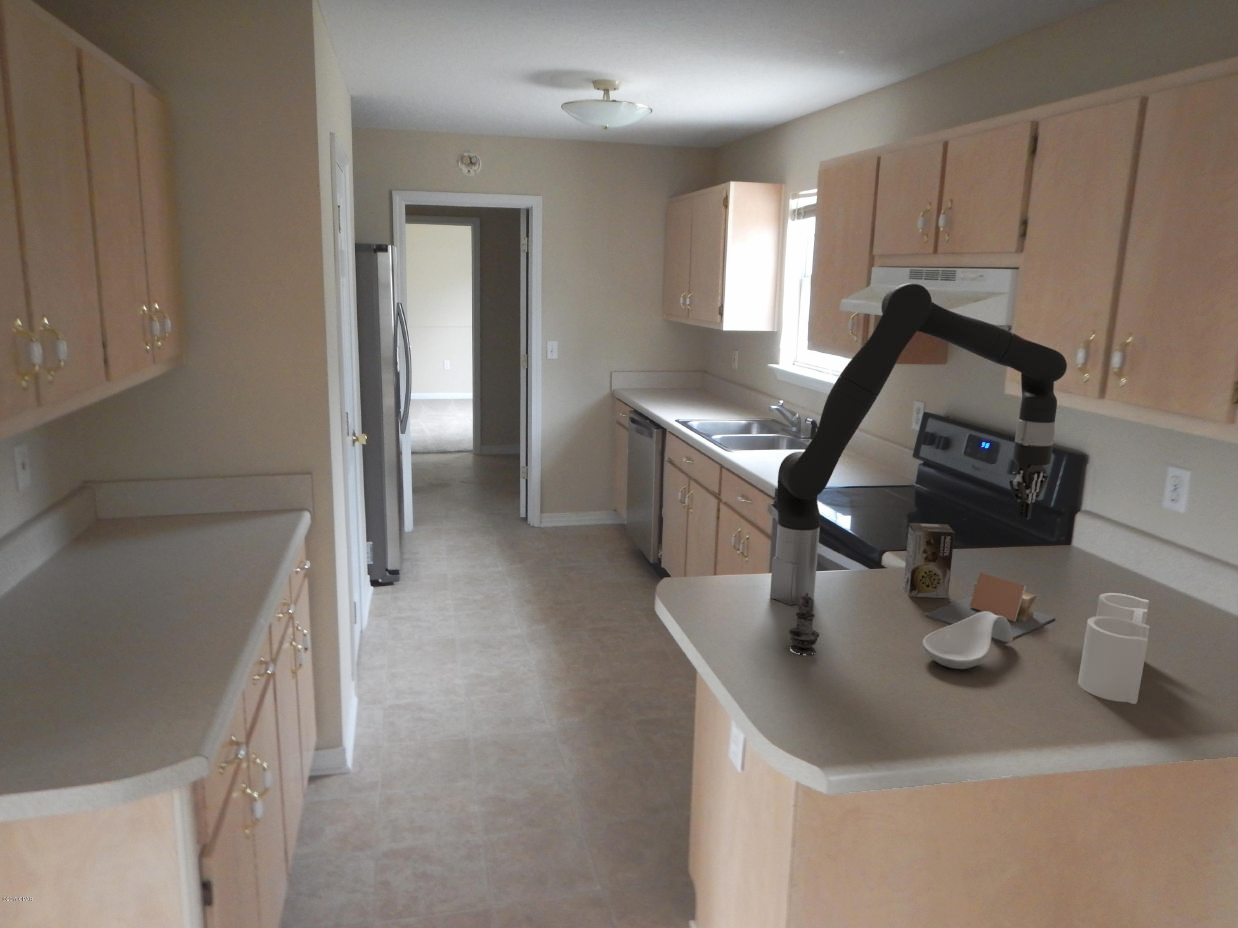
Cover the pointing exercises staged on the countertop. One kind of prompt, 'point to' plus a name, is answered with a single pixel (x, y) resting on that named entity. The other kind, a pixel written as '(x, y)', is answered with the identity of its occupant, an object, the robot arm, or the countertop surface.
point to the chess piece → (804, 628)
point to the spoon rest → (967, 640)
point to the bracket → (1115, 648)
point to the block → (1025, 606)
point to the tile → (997, 596)
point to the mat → (963, 611)
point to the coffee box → (928, 560)
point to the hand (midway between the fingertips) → (1023, 518)
